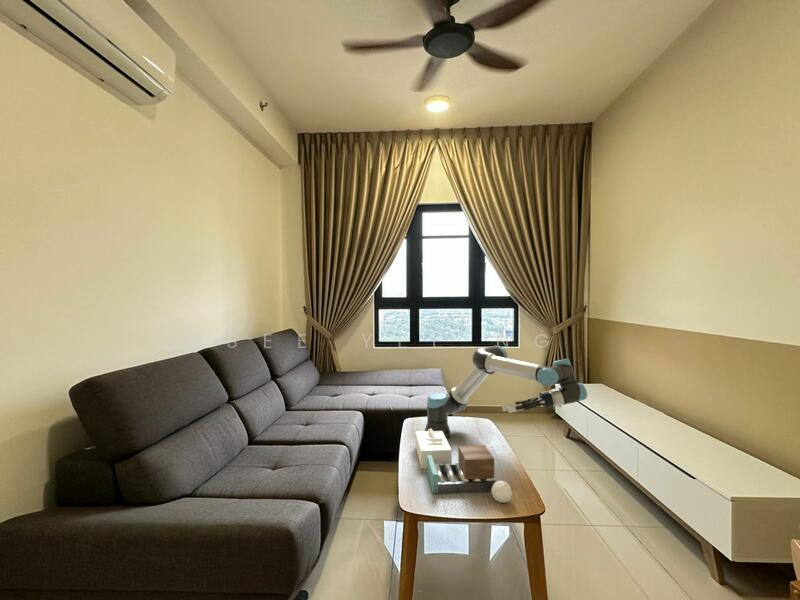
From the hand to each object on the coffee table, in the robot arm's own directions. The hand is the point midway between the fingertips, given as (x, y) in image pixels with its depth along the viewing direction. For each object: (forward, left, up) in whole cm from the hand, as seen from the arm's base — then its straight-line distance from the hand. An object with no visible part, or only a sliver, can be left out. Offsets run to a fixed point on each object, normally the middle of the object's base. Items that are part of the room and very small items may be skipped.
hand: (505, 409), depth 167 cm
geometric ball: (+23, -10, -29) cm, 39 cm away
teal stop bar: (+7, -35, -29) cm, 46 cm away
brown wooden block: (+7, -16, -24) cm, 30 cm away
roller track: (+7, -22, -29) cm, 37 cm away
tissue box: (-19, -31, -29) cm, 46 cm away
